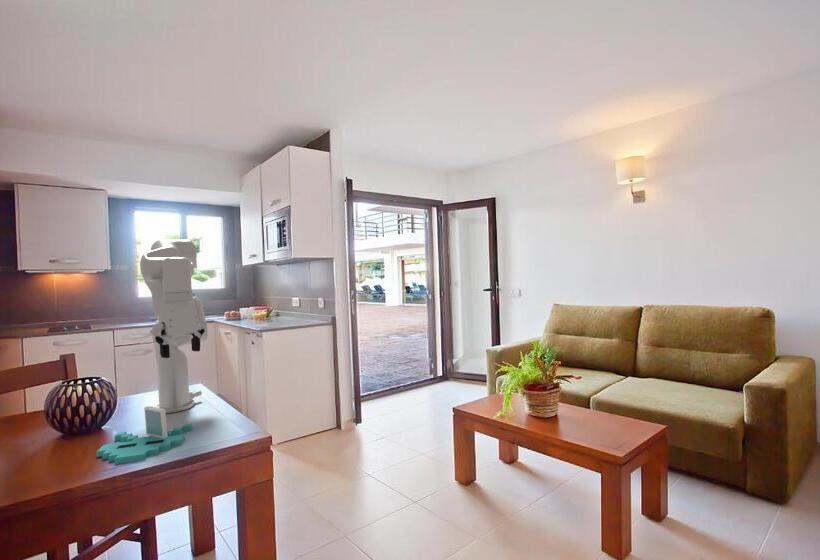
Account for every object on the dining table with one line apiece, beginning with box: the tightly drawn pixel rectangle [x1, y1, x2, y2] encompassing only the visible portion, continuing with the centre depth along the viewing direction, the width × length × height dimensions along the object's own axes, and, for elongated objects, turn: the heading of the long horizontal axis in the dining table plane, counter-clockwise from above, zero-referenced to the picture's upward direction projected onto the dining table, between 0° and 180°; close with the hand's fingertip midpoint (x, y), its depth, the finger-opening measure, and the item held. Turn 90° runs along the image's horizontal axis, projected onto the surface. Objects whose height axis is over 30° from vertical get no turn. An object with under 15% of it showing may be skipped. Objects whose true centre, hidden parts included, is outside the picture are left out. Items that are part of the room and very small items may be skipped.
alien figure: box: [96, 423, 193, 465], centre depth 115 cm, size 20×2×20 cm
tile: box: [143, 405, 168, 438], centre depth 118 cm, size 1×8×8 cm, turn 64°
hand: (181, 354), depth 125 cm, fingers open, 9 cm apart
